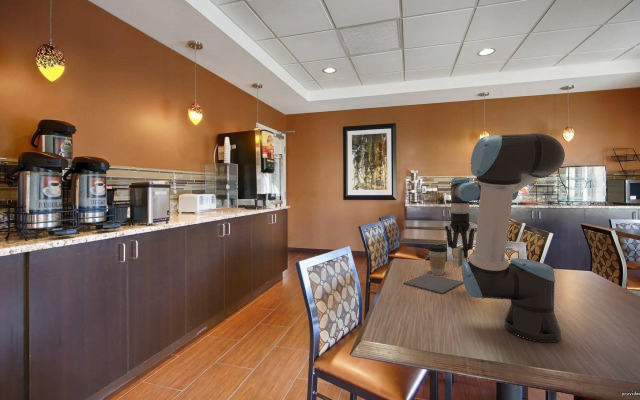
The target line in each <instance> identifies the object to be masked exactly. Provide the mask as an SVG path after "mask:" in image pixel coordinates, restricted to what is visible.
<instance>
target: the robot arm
mask: <svg viewBox="0 0 640 400" xmlns="http://www.w3.org/2000/svg"><path fill="white" fill-rule="evenodd" d="M565 153H566V152H565V149H564V147H563V145H562V143H561V142H560V141H559V140H558V139H556V138H555V137H553V136H552V135H549V134H545V133H539V132H538V133H537V132H535V133H517V134H495V135H486V136H482V137H481V138H480V139H478V140H477V142H476V143H475V145H474V147H473V150H472V152H471V157H470V171H471V174H472V175H473V176H475V180H476V182H470V179H469V177H468V178H465V177H464V178H463V177H461V178H452V179H451V183H450V212H451V213H450V220H451V221H450V223H449V224H448V225H445V226H444V228H445V231H446V242H447V247H448V248H451V249H452V250H451V253H452V254H451V255H452V256H453V249H454V248H457V247H458V240H459V235H460V236H461V243H462V246H463V250H462V266H461V276H462V282H464V283H463V285H464V288H465V290H466V293H467V295H469V297H472V298H478V299H482V300H483V299H491V300H492V299H493V300H494V299H495V300H510V306H509V308H508V309H507V312H506V315H505V317H504V328H505V327H506V328H505V330H507V331H508V330H509V331H510V332H509V331H508V332H509V333H511V332H512V333H514V334H516V335H519V336H521V337H524V338H528V339H531V340H530V341H532V340H535V341H534V342H537V341H542V342H541V343H546V342H551V343H555V342H554V341H557V342H559V341H560V340H561V339H562V330H561V327H560V324H559V321H558V319H557V316H556V314H555V289H556V288H555V284H556V277H555V270H554V267H551V266H550V265H549V264H546V263H544V262H540V261H536V260H531V259H526V258H518V257H517V258H514V257H513V258H511V260H510V262H509V260H508V259H507V258H506V257H505V255H506V250H507V249H506V247H507V241H508V235H509V234H508V233H509V228H510V227H509V226H510V219H511V212H512V203H513V201H515V200H516V199H517V197H518V196H519V191H521V190H522V189H524V188H525V187H527V186H529V185H530V184H532V183H534V182H535V181H536V180H538V179H544V178H547V177H549V176H551V175H553V174H554V173H556V172H557V171H558V170H559V169H560V168H561V167H562V166H563V163H564V162H565V157H566V155H565ZM473 201H475V202H476V201H478V202H479V203H478V213H477V214H478V215H477V224H476V227H473V226H471V224H470V213H469V212H470V202H473ZM452 230H453V233H452ZM467 231H469V233H467ZM475 233H476V234H475ZM467 235H468V236H467ZM475 235H476V236H475ZM474 240H475V244H474ZM473 247H474V251H473V253H470V254H469V251H470V250H473ZM466 258H467V259H468V260H467V262H466ZM512 333H511V334H512ZM514 334H513V335H514ZM516 335H515V336H516ZM519 336H518V337H519ZM521 337H520V338H521ZM524 338H523V339H524ZM560 338H561V339H560ZM528 339H527V340H528ZM559 339H560V340H559ZM558 340H559V341H558Z"/></svg>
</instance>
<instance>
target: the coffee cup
mask: <svg viewBox="0 0 640 400" xmlns="http://www.w3.org/2000/svg"><path fill="white" fill-rule="evenodd" d="M427 249H428V253H429V255H428V258H429V265H430V269H431V275H435V276H443V275H444V274H445V268H446V260H447V252H448V249H447V247H446V246H444V245H438V244H437V245H436V244H435V245H429V246H428V248H427Z"/></svg>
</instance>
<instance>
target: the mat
mask: <svg viewBox="0 0 640 400" xmlns="http://www.w3.org/2000/svg"><path fill="white" fill-rule="evenodd" d="M403 285H405V286H409V287H413V288H417V289H421V290H424V291H429V292H432V293H436V294H440V295H444V294H447V293H449V292H451V291H452V290H453V289H456V288H457V287H460V286H462V285H464V282H463V280H462V281H461V280H458V279H452V278H447V277H444V276H443V277H442V276H440V275H434V274H431V273H429V274H428V273H424V274H422V275H419V276H417V277H414V278H412V279H409V280H407V281H403Z"/></svg>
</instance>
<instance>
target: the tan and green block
mask: <svg viewBox="0 0 640 400" xmlns="http://www.w3.org/2000/svg"><path fill="white" fill-rule="evenodd" d="M462 250H463V245H460V246H457V248H454V249H453V255H452V267H454V268H460V267H461V268H462ZM466 262H468V257H467V258H466Z"/></svg>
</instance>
